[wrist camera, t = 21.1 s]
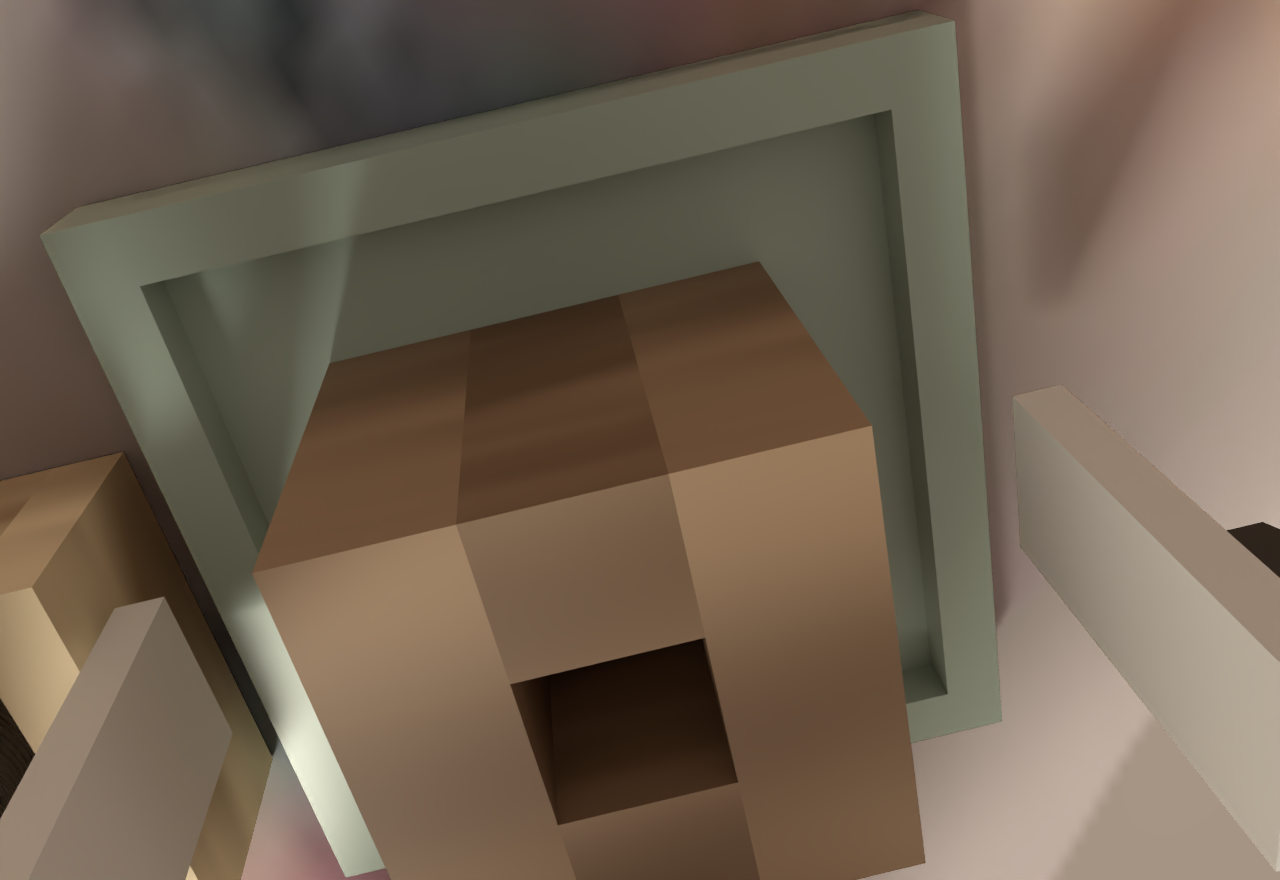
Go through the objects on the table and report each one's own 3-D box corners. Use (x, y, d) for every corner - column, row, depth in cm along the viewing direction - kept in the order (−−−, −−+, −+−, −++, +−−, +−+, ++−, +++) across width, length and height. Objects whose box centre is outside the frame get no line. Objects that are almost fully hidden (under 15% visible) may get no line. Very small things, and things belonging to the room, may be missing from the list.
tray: (76, 207, 16) (39, 235, 15) (918, 9, 17) (954, 20, 15) (355, 818, 22) (345, 877, 21) (972, 672, 22) (1002, 721, 21)
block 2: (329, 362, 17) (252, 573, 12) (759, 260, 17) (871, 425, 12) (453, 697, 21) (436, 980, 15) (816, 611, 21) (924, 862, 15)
